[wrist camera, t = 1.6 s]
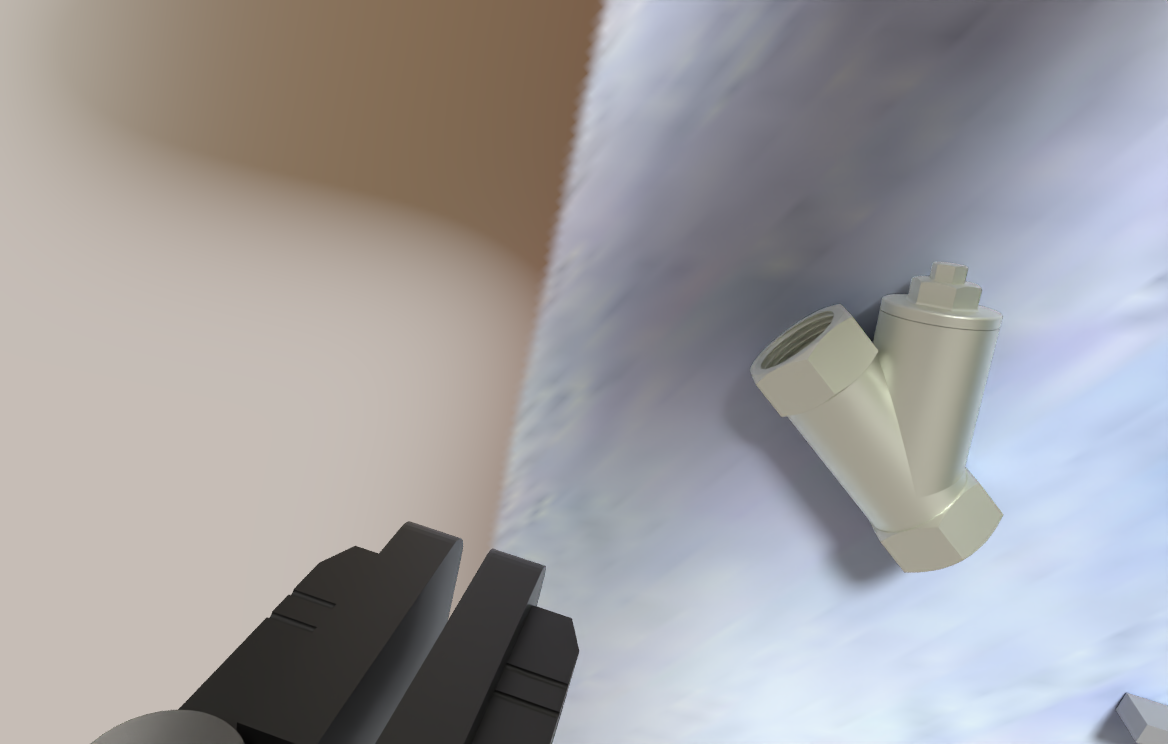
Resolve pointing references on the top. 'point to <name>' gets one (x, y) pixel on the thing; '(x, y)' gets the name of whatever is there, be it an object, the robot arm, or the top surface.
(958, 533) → the pipe fitting
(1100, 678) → the top surface
